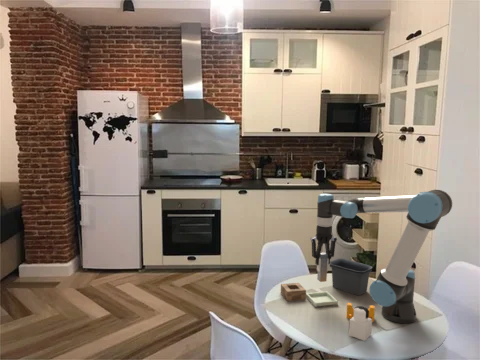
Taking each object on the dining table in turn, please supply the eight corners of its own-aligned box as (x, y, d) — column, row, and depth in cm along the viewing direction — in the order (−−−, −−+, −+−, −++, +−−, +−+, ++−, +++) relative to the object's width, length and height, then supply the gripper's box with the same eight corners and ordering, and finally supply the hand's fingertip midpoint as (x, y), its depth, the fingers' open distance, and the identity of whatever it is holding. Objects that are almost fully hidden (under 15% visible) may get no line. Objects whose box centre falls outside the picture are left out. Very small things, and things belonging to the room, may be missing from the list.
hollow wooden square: (305, 299, 202) (305, 290, 201) (287, 301, 199) (287, 291, 199) (298, 291, 211) (298, 282, 211) (280, 293, 209) (280, 284, 208)
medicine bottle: (355, 329, 172) (356, 302, 171) (371, 334, 168) (373, 307, 166) (348, 335, 167) (349, 308, 165) (364, 341, 162) (366, 313, 161)
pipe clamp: (373, 317, 184) (373, 304, 183) (373, 321, 179) (374, 308, 179) (346, 314, 186) (347, 301, 186) (346, 318, 182) (347, 305, 181)
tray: (337, 305, 195) (337, 301, 195) (315, 307, 193) (315, 303, 192) (326, 295, 207) (327, 291, 207) (305, 297, 204) (305, 293, 204)
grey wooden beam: (323, 278, 201) (324, 252, 199) (326, 281, 197) (327, 254, 195) (317, 279, 200) (318, 252, 198) (320, 281, 197) (321, 254, 195)
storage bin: (325, 287, 218) (326, 262, 216) (340, 280, 229) (342, 256, 227) (360, 299, 203) (361, 272, 201) (375, 291, 213) (376, 265, 212)
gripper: (336, 222, 200) (333, 267, 203) (305, 223, 197) (304, 269, 200) (343, 226, 193) (340, 272, 196) (311, 227, 189) (309, 274, 192)
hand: (322, 270), depth 198 cm, fingers closed on grey wooden beam, 3 cm apart
